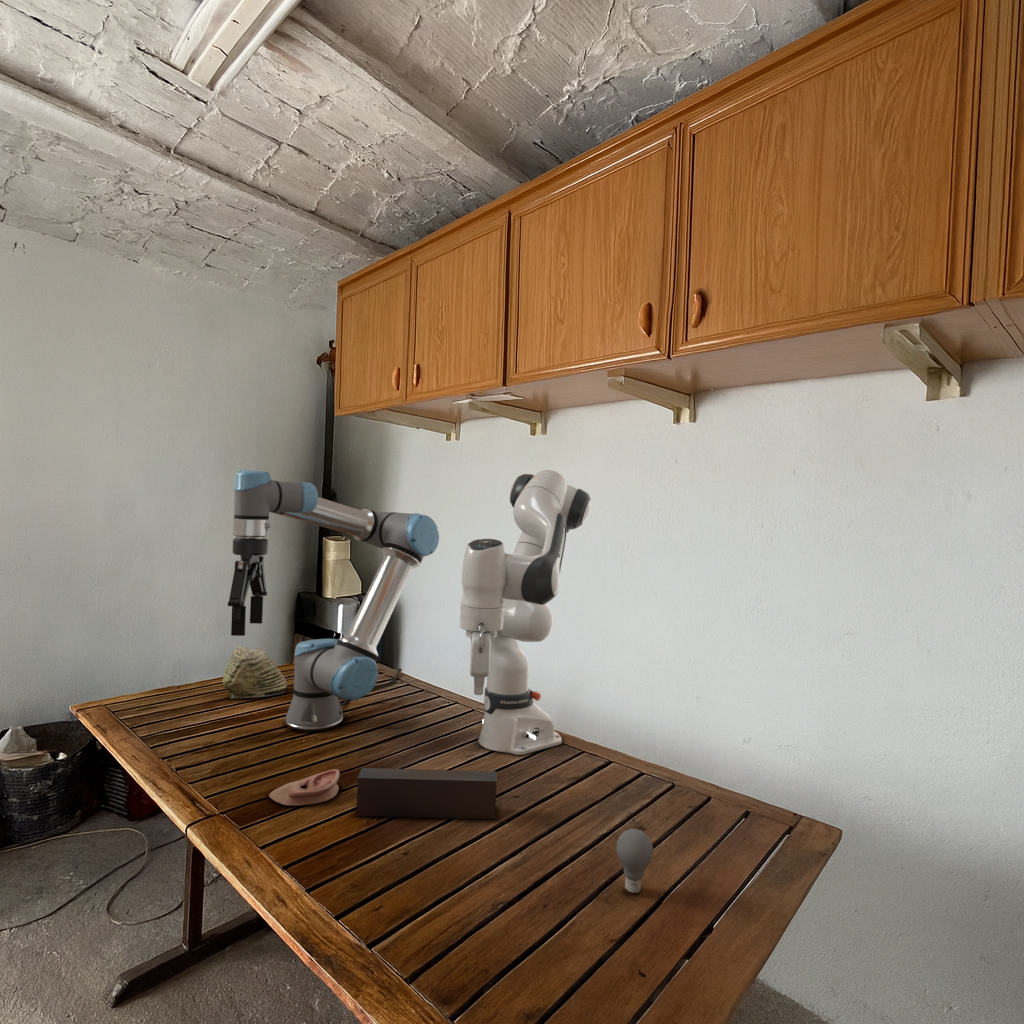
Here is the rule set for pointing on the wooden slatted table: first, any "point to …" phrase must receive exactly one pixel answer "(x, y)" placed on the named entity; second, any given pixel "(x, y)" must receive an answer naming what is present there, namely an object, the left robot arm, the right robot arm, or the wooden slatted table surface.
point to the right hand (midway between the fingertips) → (478, 686)
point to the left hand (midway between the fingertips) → (247, 629)
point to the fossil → (252, 674)
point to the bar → (426, 793)
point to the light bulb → (634, 857)
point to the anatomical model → (308, 789)
